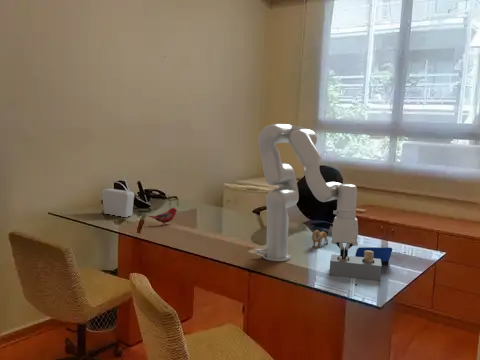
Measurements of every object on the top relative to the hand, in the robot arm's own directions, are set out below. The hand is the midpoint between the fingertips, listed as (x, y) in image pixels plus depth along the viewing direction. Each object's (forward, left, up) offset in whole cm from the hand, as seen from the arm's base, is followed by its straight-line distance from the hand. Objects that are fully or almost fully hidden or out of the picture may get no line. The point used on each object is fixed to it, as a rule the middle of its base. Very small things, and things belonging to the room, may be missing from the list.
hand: (343, 258), depth 201 cm
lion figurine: (+7, +41, -7) cm, 42 cm away
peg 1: (0, 0, -6) cm, 6 cm away
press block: (+4, -2, -6) cm, 8 cm away
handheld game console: (+18, +11, -7) cm, 22 cm away
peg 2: (+9, -5, -2) cm, 10 cm away
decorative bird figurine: (-66, +95, -7) cm, 115 cm away
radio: (-90, +126, -7) cm, 155 cm away
